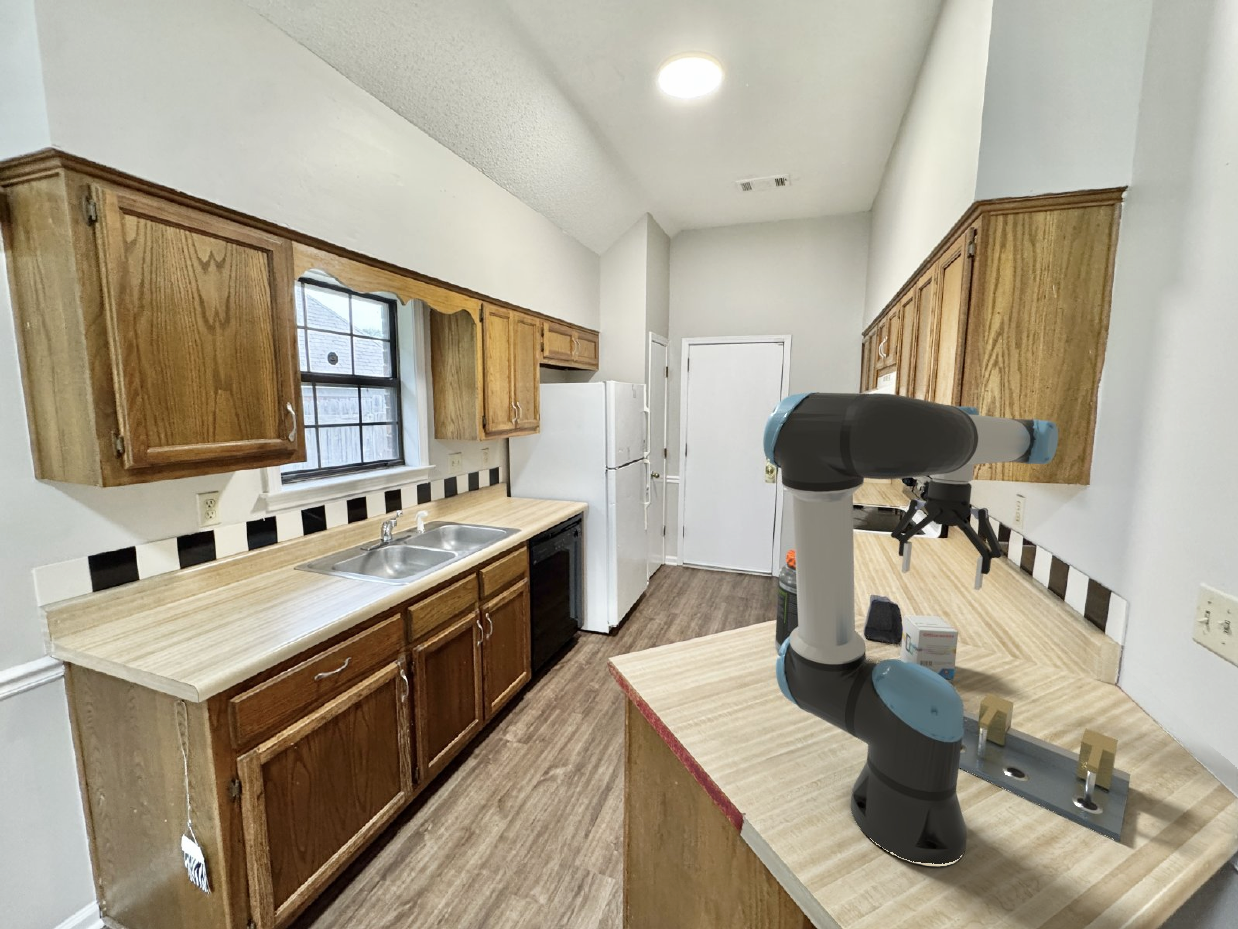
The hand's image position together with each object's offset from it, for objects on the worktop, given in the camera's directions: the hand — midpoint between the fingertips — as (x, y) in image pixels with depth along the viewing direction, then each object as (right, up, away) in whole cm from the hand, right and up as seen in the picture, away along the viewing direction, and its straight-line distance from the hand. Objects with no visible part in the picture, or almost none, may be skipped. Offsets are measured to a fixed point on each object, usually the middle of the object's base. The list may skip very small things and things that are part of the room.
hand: (940, 579), depth 111 cm
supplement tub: (-22, -23, +17) cm, 36 cm away
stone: (+2, -22, +29) cm, 36 cm away
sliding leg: (-1, -26, -16) cm, 31 cm away
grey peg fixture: (+1, -28, -21) cm, 35 cm away
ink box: (+4, -24, +12) cm, 27 cm away
